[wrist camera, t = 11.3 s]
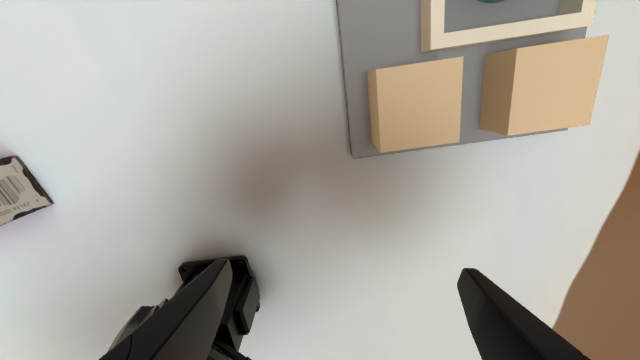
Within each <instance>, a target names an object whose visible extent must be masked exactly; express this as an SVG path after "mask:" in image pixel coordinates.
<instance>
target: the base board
mask: <svg viewBox="0 0 640 360" xmlns="http://www.w3.org/2000/svg"><path fill="white" fill-rule="evenodd" d="M336 2H337V12H338V22H339V33H340V43H341V53H342V63H343V73H344V83H345V93H346V103H347V114H348V124H349V134H350V144H351V154H352V157H353V159H355V158H362V157H370V156H377V155H385V154H392V153H400V152H407V151H415V150H422V149H429V148H437V147H444V146H452V145H459V144H467V143H474V142H482V141H489V140H497V139H504V138H512V137H519V136H527V135H534V134H542V133H549V132H557V131H564V130H568V128H569V127H577V126H584V125H590V121H591V116H592V112H593V107H594V103H595V98H596V93H597V89H598V84H599V79H600V75H601V70H602V66H603V61H604V56H605V52H606V47H607V43H608V38H609V35H604V36H597V37H590V38H585V34H586V29H587V27H588V26H592V24H593V19H594V14H595V9H596V4H597V0H504V1H502V2H498V3H483V2H480V1H477V0H336Z"/></svg>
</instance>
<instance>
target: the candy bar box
mask: <svg viewBox="0 0 640 360" xmlns="http://www.w3.org/2000/svg"><path fill="white" fill-rule="evenodd" d="M50 205H51V202H50V200H49V199H48V197H47V196H46V195H45V193H44V192H43V191H42V189H41V188H40V187H39V186H38V184H37V183H36V182H35V180H34V179H33V177H32V176H31V175H30V173H29V172H28V170H27V169H26V167H25V166H24V165H23V164H22V163H21V162H20V161H19V159H18V158H17V157H15V156H11V157H6V158H2V159H0V226H1V225H3V224H6V223H8V222H11V221H13V220H15V219H18V218H20V217H22V216H25V215H27V214H30V213H32V212H34V211H37V210H39V209H42V208H45V207H47V206H50Z"/></svg>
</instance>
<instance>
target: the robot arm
mask: <svg viewBox="0 0 640 360" xmlns="http://www.w3.org/2000/svg"><path fill="white" fill-rule="evenodd" d="M240 261H242V262H243V263H241V262H240ZM184 268H185V269H184ZM178 270H179V273H180V275H181V278H182V280H183V283H182V285H181V286H180V288H179V289H178V290H177V292H176V293H175V295H174V296H173V297H172V298H171V299H170V300H168V299H165V300H163V301H162V302H161V303H160V304H159V305H157V306H155V307H154V306H152V307H150V306H142V307H140V308H139V309H138V310H137V311H136V312H135V314H134V315H133V316H132V317H131V318H130V320H129V321H128V322H127V323H126V325H125V326H124V327H123V328H122V330H121V331H120V332H119V334H118V335H117V337H116V338H115V340H114V342H113V343H112V345H111V347H110V348H109V350H108V352H107V353H106V354H105V355H104V356H102V357H101V358H100V359H99V360H252V359H250V358H249V357H245V356H244V355H242V354H241V353H239V352H238V351H239V348H240V345H241V341H242V338H243V335H247V334H248V333H249V332H250V329H251V326H252V322H253V319H254V315H255V312H257V311H258V310H259V308H260V303H259V298H260V296H259V292H258V289H257V285H256V281H255V278H254V277H253V276H252V275H251V271H250V268H249V264H248V261H247V259H246V258H245V257H243V256H239V257H230V258H222V259H213V260H205V261H197V262H188V263H182V264H181V265H180V267H179V269H178ZM457 288H458V291H459V295H460V298H461V301H462V305H463V308H464V311H465V315H466V318H467V322H468V325H469V328H470V331H471V333H472V336H473V338H474V341H475V343H476V346H477V348H478V350H479V353H480V355H481V358H482V360H590V359H589V358H588V357H587V356H585V355H583V354H582V353H581V352H580V351H579V350H578V349H576V348H575V347H574V346H573V345H571V344H570V343H569V342H568V341H566V340H565V339H564V338H563V337H561V336H560V335H559V334H557V333H556V332H555V331H554V330H553V329H551V328H550V327H549V326H548V325H546V324H545V323H544V322H542V321H541V320H540V319H539V318H537V317H536V316H535V315H534V314H532V313H531V312H530V311H529V310H527V309H526V308H525V307H524V306H522V305H521V304H520V303H519V302H517V301H516V300H515V299H514V298H512V297H511V296H510V295H508V294H507V293H506V292H505V291H503V290H502V289H501V288H500V287H498V286H497V285H496V284H495V283H493V282H492V281H491V280H490V279H488V278H487V277H486V276H485V275H483V274H482V273H481V272H480V271H478V270H477V269H475V268H464V269H463V270H462V272H461V275H460V277H459V280H458V283H457Z"/></svg>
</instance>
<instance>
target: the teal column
mask: <svg viewBox="0 0 640 360" xmlns="http://www.w3.org/2000/svg"><path fill="white" fill-rule="evenodd" d="M477 1H480V2H483V3H498V2H502V1H504V0H477Z"/></svg>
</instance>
